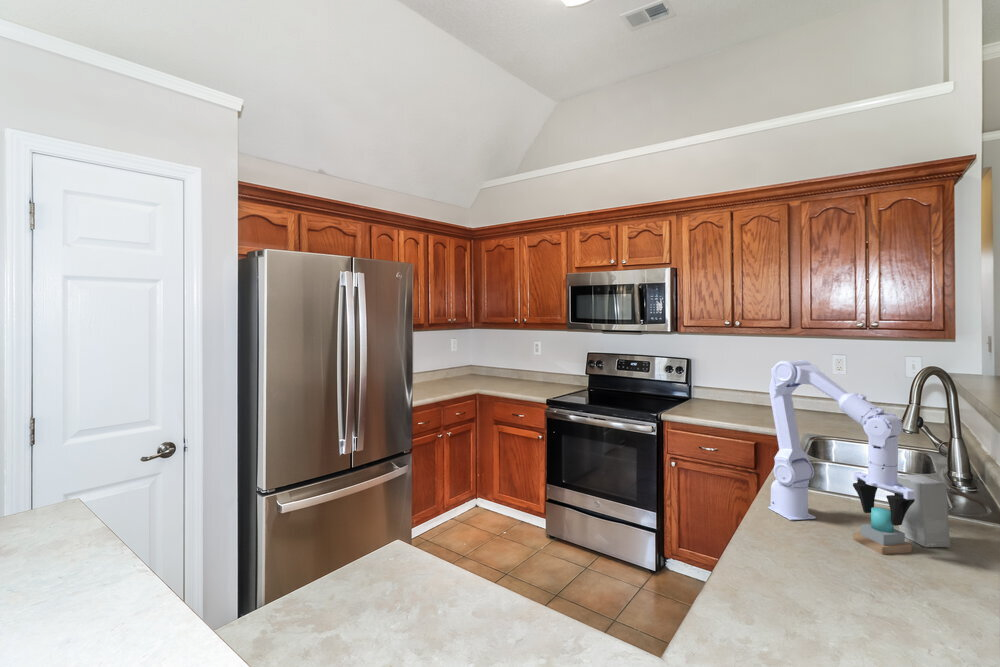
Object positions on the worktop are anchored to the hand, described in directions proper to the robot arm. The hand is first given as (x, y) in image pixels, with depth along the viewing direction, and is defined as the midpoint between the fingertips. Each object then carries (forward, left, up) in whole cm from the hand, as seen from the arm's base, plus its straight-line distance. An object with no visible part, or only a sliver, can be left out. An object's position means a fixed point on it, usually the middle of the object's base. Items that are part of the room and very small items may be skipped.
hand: (882, 518), depth 121 cm
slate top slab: (0, 0, -5) cm, 5 cm away
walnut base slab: (0, 0, -8) cm, 8 cm away
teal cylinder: (0, 0, -3) cm, 3 cm away
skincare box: (-1, +12, -7) cm, 14 cm away
